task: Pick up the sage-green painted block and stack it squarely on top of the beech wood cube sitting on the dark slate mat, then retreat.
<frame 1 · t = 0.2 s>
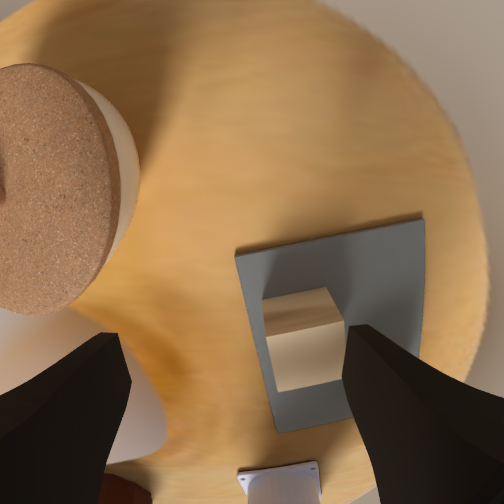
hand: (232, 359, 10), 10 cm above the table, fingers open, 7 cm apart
lidded jar: (82, 172, 17), on the table
beech cube: (298, 320, 20), resting on slate mat
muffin: (119, 488, 29), on the table
slate mat: (344, 344, 21), on the table
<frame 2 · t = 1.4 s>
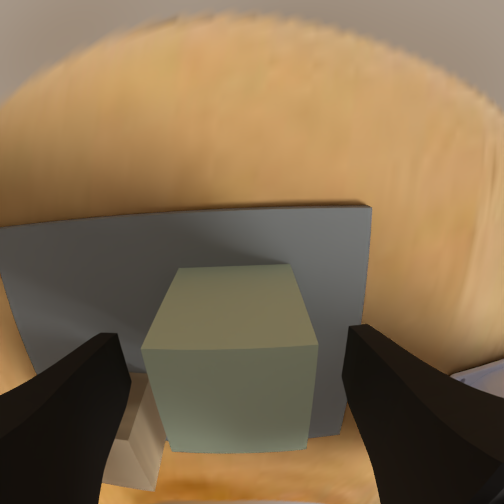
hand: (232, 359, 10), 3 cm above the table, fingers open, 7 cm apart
beech cube: (121, 401, 14), resting on slate mat
green block: (236, 314, 12), resting on slate mat
slate mat: (170, 351, 13), on the table
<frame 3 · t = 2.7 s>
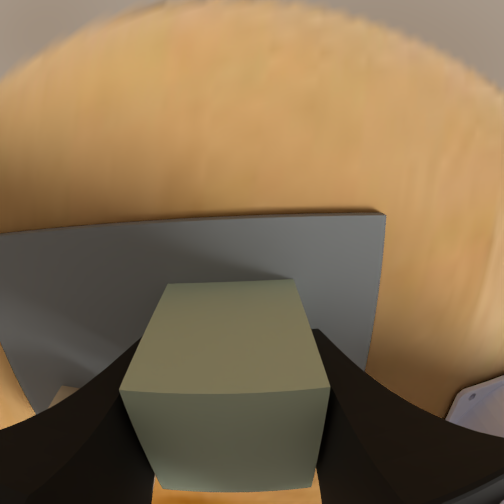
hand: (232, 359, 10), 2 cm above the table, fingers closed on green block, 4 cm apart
green block: (233, 334, 11), resting on slate mat, touching gripper
slate mat: (161, 371, 12), on the table
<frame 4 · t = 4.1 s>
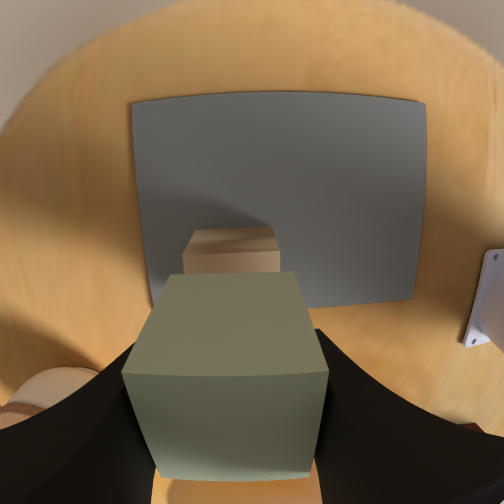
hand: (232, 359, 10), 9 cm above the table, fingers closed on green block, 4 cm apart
lidded jar: (94, 394, 22), on the table
beech cube: (235, 263, 18), resting on slate mat
green block: (233, 326, 11), point 7 cm above the table, touching gripper
slate mat: (289, 205, 17), on the table
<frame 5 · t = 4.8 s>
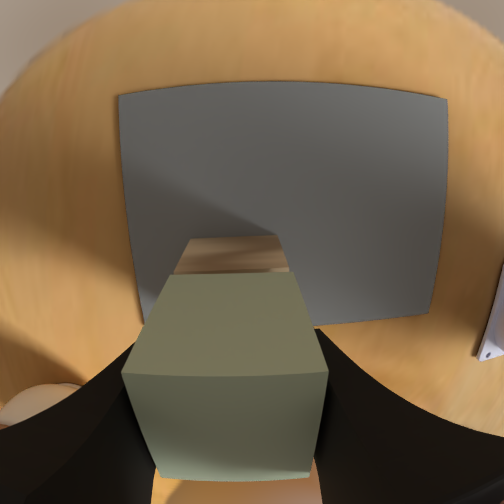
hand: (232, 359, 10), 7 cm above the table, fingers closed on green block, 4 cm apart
lidded jar: (85, 411, 20), on the table
beech cube: (235, 277, 16), resting on slate mat
green block: (233, 326, 11), point 5 cm above the table, touching gripper
slate mat: (297, 211, 15), on the table
when the fingers open (7 cm above the table, at t = 5.4 s): green block stays where it is, resting on beech cube.
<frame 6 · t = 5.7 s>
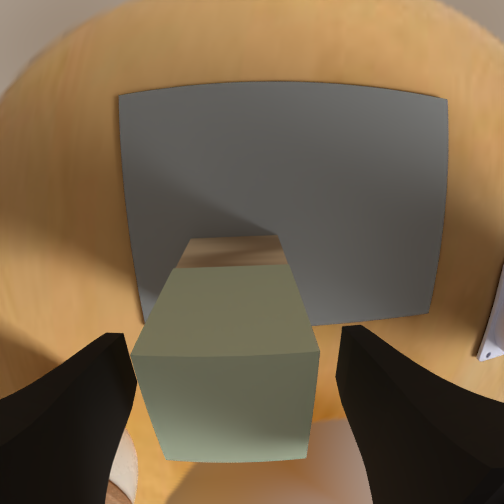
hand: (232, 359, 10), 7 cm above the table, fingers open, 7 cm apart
lidded jar: (85, 410, 20), on the table
beech cube: (235, 276, 16), resting on slate mat, touching green block
green block: (233, 317, 12), point 4 cm above the table, touching beech cube
slate mat: (297, 211, 15), on the table
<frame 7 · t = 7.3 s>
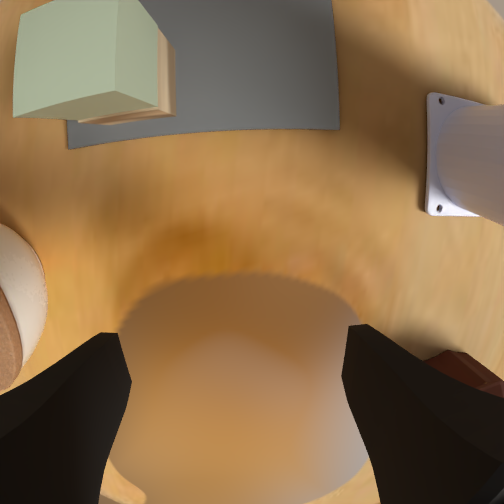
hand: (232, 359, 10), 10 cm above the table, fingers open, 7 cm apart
lidded jar: (16, 270, 20), on the table
beech cube: (141, 86, 16), resting on slate mat, touching green block
green block: (115, 71, 12), point 4 cm above the table, touching beech cube
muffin: (432, 386, 24), on the table
slate mat: (193, 34, 15), on the table
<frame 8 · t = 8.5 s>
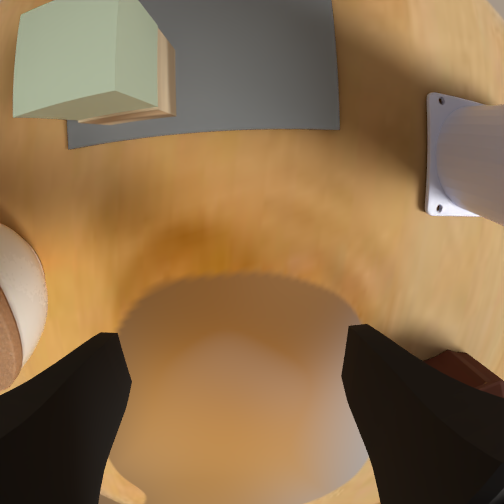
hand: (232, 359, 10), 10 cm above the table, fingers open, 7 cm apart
lidded jar: (16, 270, 20), on the table
beech cube: (141, 86, 16), resting on slate mat, touching green block
green block: (115, 71, 12), point 4 cm above the table, touching beech cube
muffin: (432, 386, 24), on the table
slate mat: (193, 34, 15), on the table
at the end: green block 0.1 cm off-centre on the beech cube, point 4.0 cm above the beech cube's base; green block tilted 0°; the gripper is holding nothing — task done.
